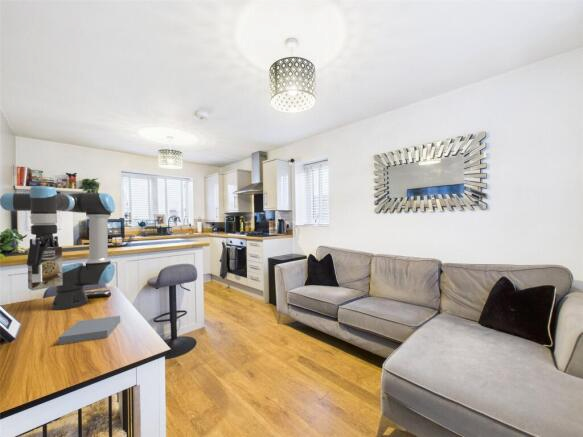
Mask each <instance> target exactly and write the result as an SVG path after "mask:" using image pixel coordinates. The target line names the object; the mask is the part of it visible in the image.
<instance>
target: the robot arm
mask: <svg viewBox="0 0 583 437" xmlns="http://www.w3.org/2000/svg"><path fill="white" fill-rule="evenodd" d="M56 189H57V188H56V187H54V186H45V185H43V186H42V185H36V186H35V185H34V186H31V187H30V190H29V193H27V192H26V193H25V192H21V193H20V192H18V193H17V192H8V193H4V194H2V195H1V196H0V207H1V208H2V209H3V210H5V211H7V212H8V211H9V212H11V211H13V212H19V211H20V212H30V217H29V219H30V224H31V226H30V233H31V235H35V237H34V238H30V239H29V248H28V249H29V253H28V252H27V261H26V265H27V267H28V266H32V283H34V282H42V265H40V263H41V260H42V256H43V253H44V249H46V248H47V247H60V245H59V237H58V235H56V236H54V235H55V234H58V225H57V223H58V215H57V214H58V213H57V212H58V211H59V212H70V213H78V214H79V213H80V214H83V213H84V214H85V216H86V217H87V218H88V219H89V221H88V222H89V223H88V225H89V226H88V227H89V230H88V233H89V234H88V236H89V237H88V238H89V240H88V241H89V242H88V244H89V245H88V246H89V248H88V252H89V253H88V254H89V255H88V260H87V261H86V262H85V265H84V263H83V262H77V263H73V264H72V263H70V264H67V265H62V283H63V285H60V286H55V292H56V293H55V295H54V299H53V301H52V304H51V308H52V310H55V311H58V310H60V311H62V310H69V309H73V308H77V307H81V306H84V305H85V304H88V302H89V300H88V296H87V294H86V292H85V290H84V286H85V287H87V286H95V285H96V286H97V285H99V286H102V285H106V284H109V283H111V282H112V280H113V278H114V276H115V272H116V267H115V264H114V263H112V262H111V259H109V258H108V257H109V255H108V254H109V253H108V251H109V250H108V246H109V244H108V237H109V236H108V229H109V228H108V227H109V226H108V225H109V224H108V223H109V221H108V220H109V218H110V217H111V216H112V213H114V212H115V209H116V206H115V204H116V203H115V200H114V198H113V196H112V195H110V194H109V193H106V192H105V193H103V192H77V193H58V192H57V190H56Z"/></svg>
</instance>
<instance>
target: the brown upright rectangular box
mask: <svg viewBox="0 0 583 437" xmlns="http://www.w3.org/2000/svg"><path fill="white" fill-rule="evenodd" d="M28 253H29V248H27V254H28ZM40 265H42V282H34V283H32V266H28V265H27V289H28V290H31V291H38V290H42V289H48V288H53V287H55V288H56V286H60V285H63V283H62V266H63V247H62V246H59V247H47V248H46V249H44V253H43V256H42V260H41V263H40Z"/></svg>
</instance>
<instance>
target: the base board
mask: <svg viewBox="0 0 583 437" xmlns="http://www.w3.org/2000/svg"><path fill="white" fill-rule="evenodd" d="M120 323H121V315H115V316H107V317H100V318H90V319H84V320H77V321H76V322H75V323H74V324H73V325H72V326H71V327H69V328H68V329H67V330H66V331H65V332H63V333H62V334H60V335H59V336H58V345H59V346H60V345H66V344H72V343H73V344H74V343H79V342H86V341H92V340H100V339H106V338H108V337H110V335H111V334H112V333H113V331H114V330H115V329H116V328H117V326H118V325H119V324H120Z"/></svg>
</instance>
